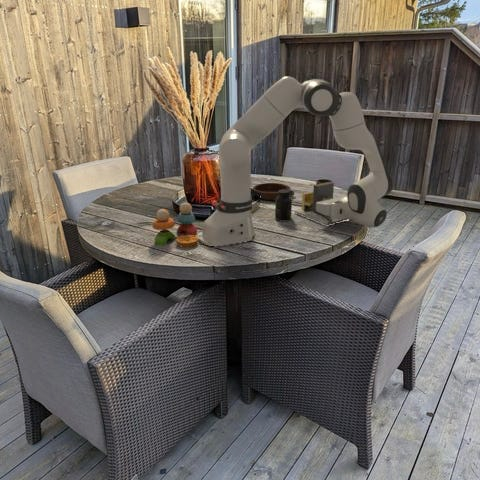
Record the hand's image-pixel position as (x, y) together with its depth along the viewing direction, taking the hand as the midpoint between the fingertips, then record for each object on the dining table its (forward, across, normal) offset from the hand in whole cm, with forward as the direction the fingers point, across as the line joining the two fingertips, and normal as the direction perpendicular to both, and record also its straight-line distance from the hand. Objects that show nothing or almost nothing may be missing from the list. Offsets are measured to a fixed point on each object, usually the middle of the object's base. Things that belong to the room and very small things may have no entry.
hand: (325, 199), depth 185 cm
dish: (+36, +1, +8) cm, 37 cm away
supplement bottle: (+8, +16, +8) cm, 19 cm away
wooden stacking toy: (+12, +61, +8) cm, 62 cm away
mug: (+15, -14, +8) cm, 22 cm away
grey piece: (-1, 0, +8) cm, 8 cm away
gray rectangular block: (+3, 0, +6) cm, 7 cm away
